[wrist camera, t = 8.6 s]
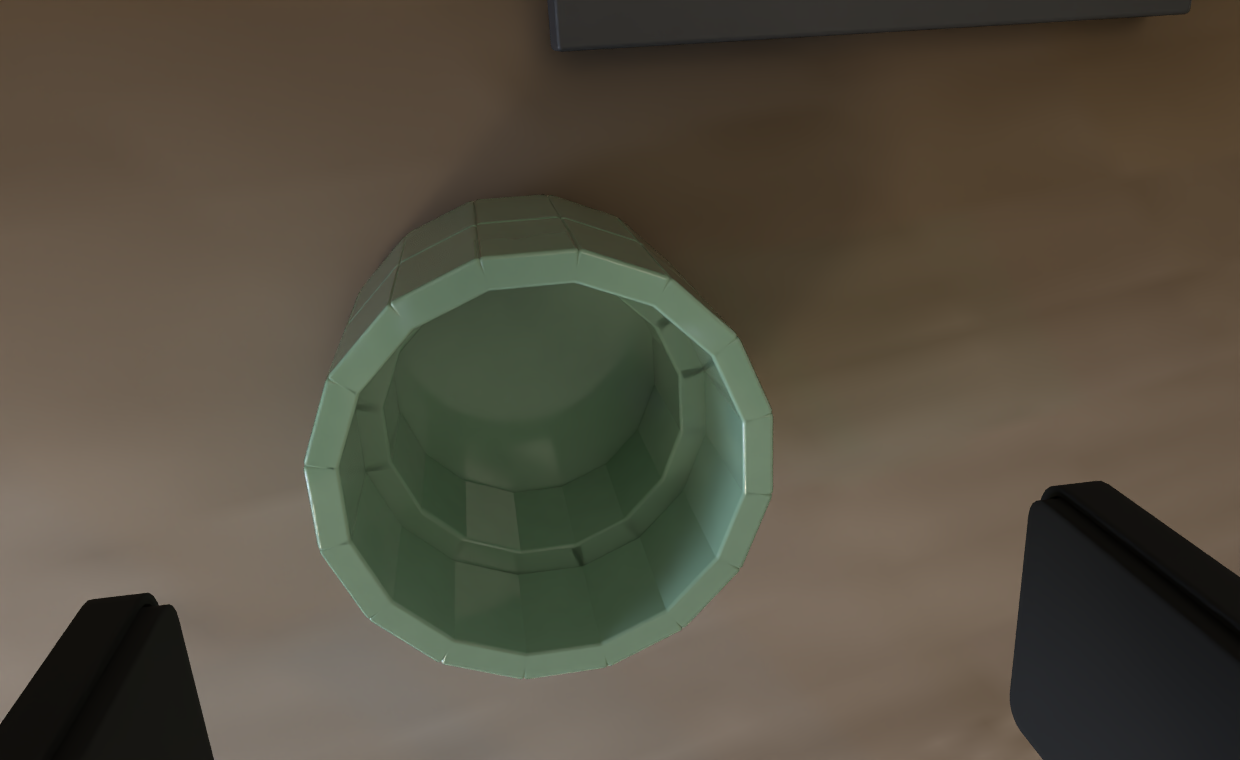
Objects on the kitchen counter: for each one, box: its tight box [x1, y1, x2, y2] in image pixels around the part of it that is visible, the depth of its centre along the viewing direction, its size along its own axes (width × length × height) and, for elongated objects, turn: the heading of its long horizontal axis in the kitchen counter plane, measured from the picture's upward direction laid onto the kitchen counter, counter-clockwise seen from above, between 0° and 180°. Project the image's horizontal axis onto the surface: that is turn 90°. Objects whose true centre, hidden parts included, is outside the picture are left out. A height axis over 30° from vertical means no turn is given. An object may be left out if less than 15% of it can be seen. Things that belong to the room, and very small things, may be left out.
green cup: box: [304, 194, 773, 679], centre depth 17 cm, size 7×7×6 cm
